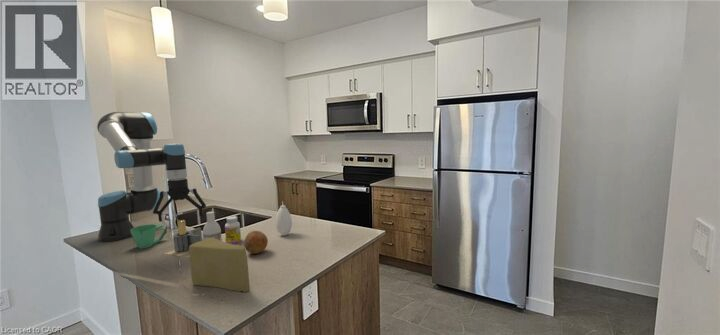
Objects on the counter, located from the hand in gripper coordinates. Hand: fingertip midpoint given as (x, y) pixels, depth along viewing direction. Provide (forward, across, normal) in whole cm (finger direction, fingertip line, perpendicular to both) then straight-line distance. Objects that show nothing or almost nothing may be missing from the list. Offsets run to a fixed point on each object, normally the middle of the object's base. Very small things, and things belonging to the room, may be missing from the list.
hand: (182, 225), depth 136 cm
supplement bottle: (+12, +20, -1) cm, 24 cm away
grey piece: (+11, +4, 0) cm, 11 cm away
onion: (+12, +29, -18) cm, 36 cm away
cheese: (+12, +15, -42) cm, 46 cm away
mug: (+12, -15, +15) cm, 24 cm away
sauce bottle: (+12, +44, -1) cm, 46 cm away
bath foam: (+12, +12, -15) cm, 23 cm away
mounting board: (+12, +2, 0) cm, 12 cm away
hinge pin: (+11, 0, 0) cm, 11 cm away
